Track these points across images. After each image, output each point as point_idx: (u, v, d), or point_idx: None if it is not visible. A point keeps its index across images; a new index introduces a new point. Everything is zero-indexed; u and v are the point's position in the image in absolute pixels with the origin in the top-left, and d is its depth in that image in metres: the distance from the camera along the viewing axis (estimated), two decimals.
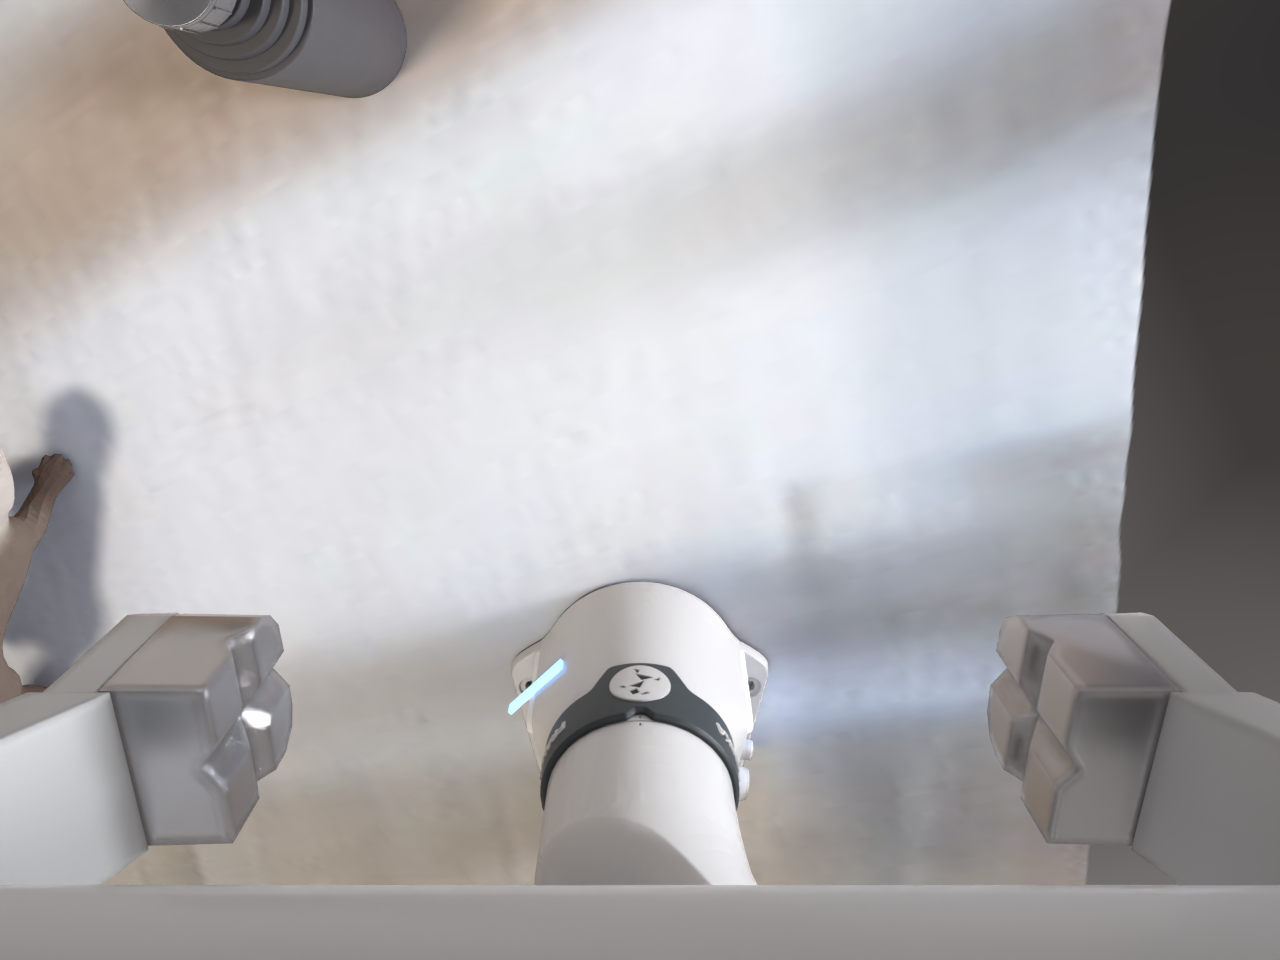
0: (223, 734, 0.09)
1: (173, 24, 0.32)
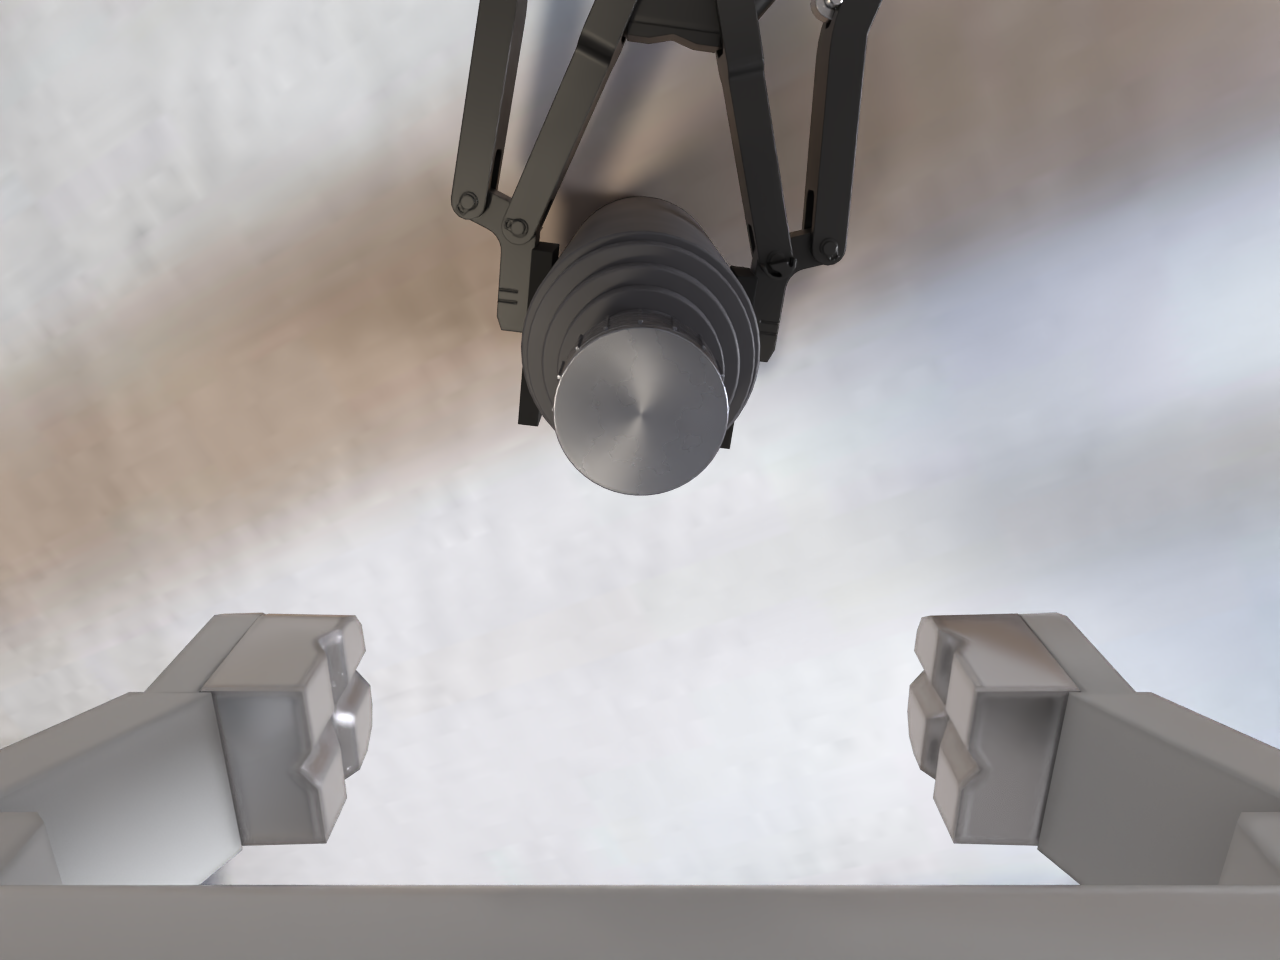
0: (319, 734, 0.09)
1: (638, 492, 0.20)
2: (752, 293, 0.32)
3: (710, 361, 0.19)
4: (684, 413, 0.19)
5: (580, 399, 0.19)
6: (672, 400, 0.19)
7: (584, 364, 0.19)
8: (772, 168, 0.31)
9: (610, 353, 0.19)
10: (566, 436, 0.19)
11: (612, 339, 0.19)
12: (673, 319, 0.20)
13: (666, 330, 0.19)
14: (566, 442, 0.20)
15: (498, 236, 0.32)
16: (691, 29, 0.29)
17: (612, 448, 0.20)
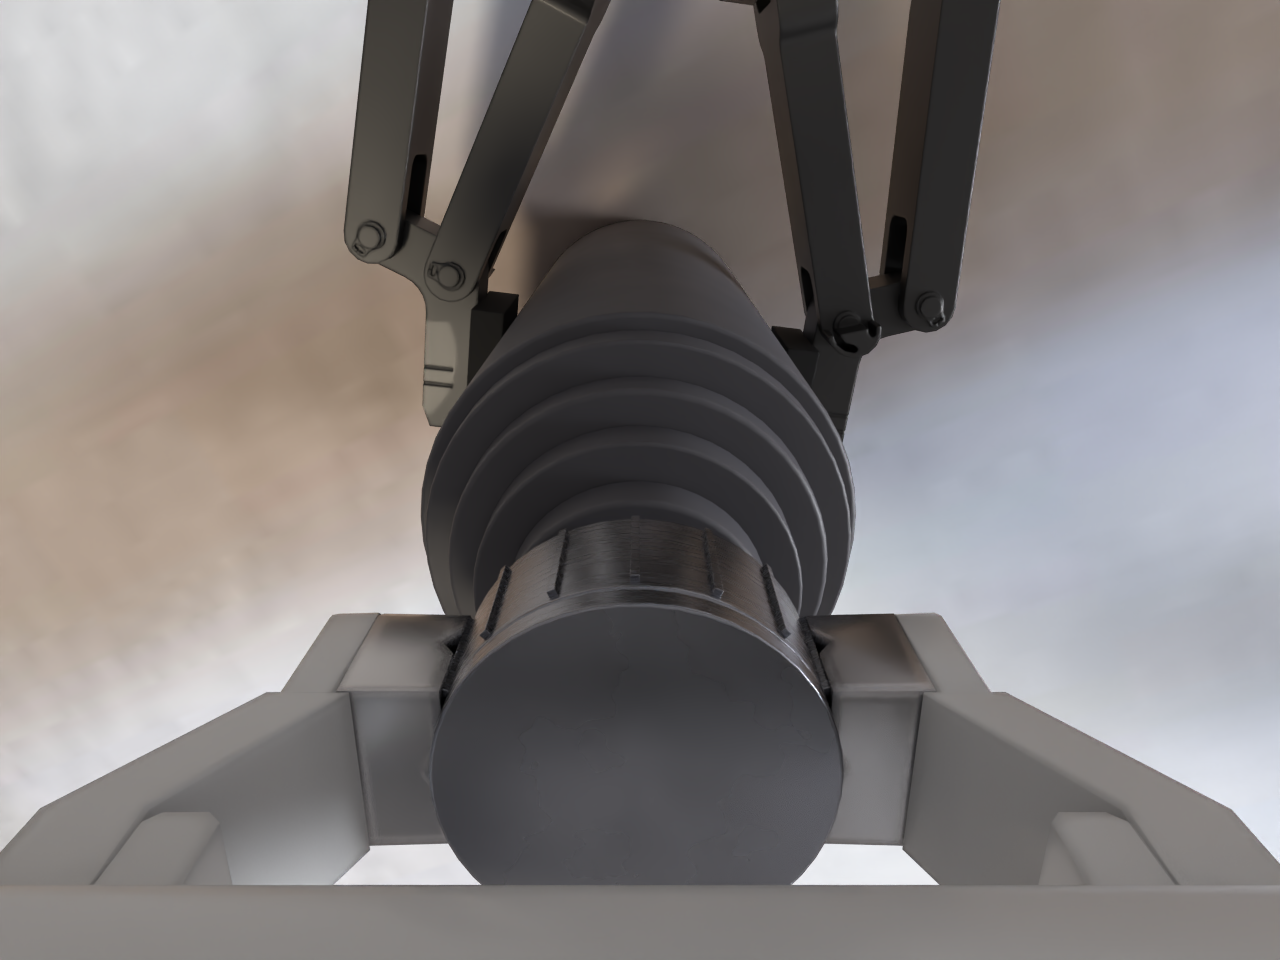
0: None
1: None
2: (809, 375, 0.21)
3: (805, 678, 0.08)
4: (739, 785, 0.08)
5: (492, 757, 0.08)
6: (712, 760, 0.08)
7: (499, 686, 0.08)
8: (845, 184, 0.20)
9: (562, 662, 0.08)
10: (463, 832, 0.08)
11: (566, 631, 0.08)
12: (710, 547, 0.09)
13: (699, 610, 0.08)
14: (464, 841, 0.08)
15: (421, 288, 0.21)
16: None
17: (571, 854, 0.08)
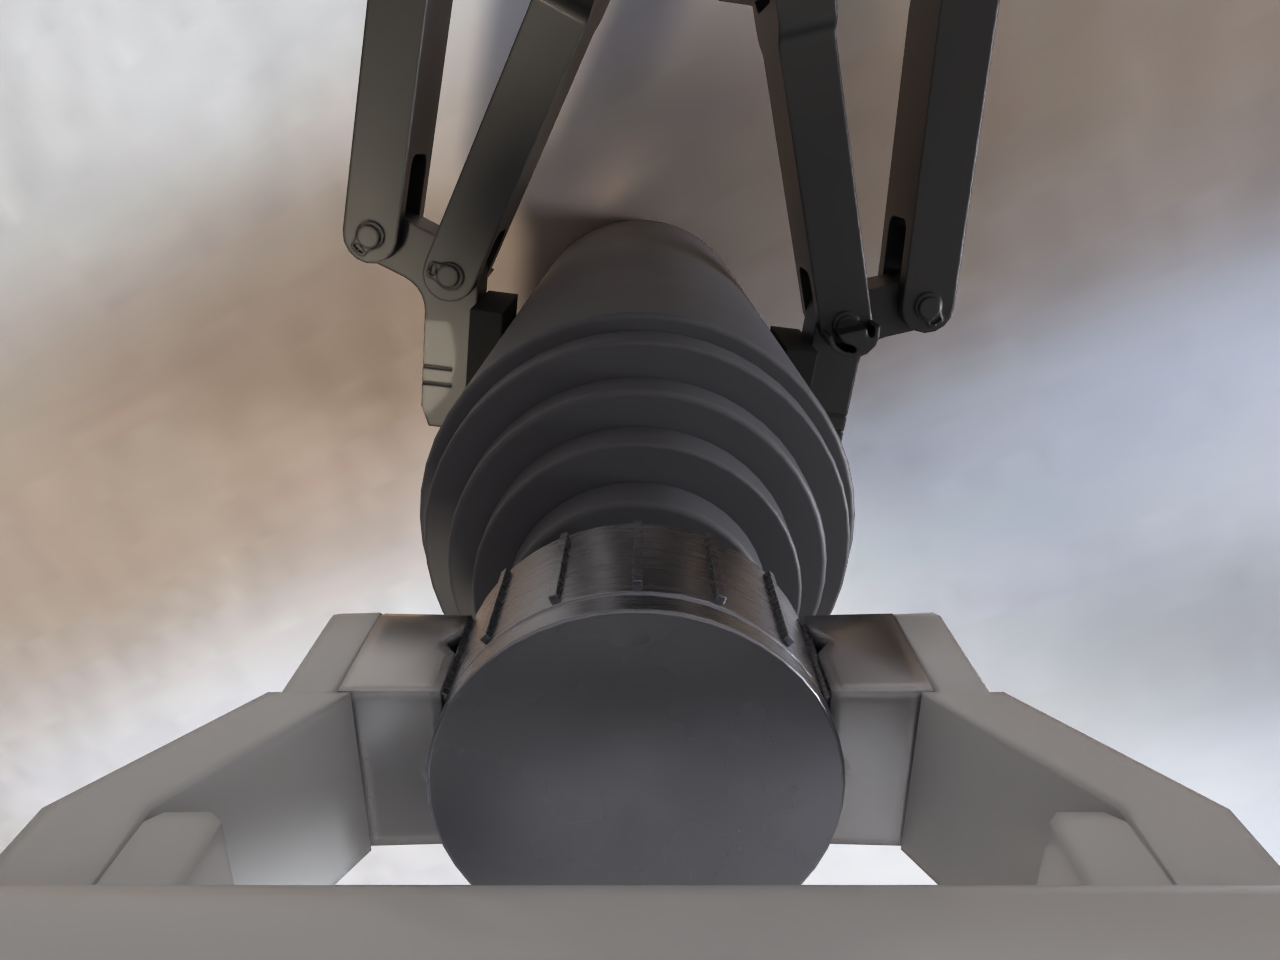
0: None
1: (811, 860, 0.08)
2: (808, 375, 0.21)
3: (577, 618, 0.07)
4: (676, 714, 0.08)
5: None
6: (633, 726, 0.08)
7: (476, 853, 0.08)
8: (844, 185, 0.20)
9: (472, 800, 0.08)
10: None
11: (444, 785, 0.08)
12: (496, 591, 0.09)
13: (467, 677, 0.08)
14: None
15: (420, 287, 0.21)
16: None
17: (685, 870, 0.08)
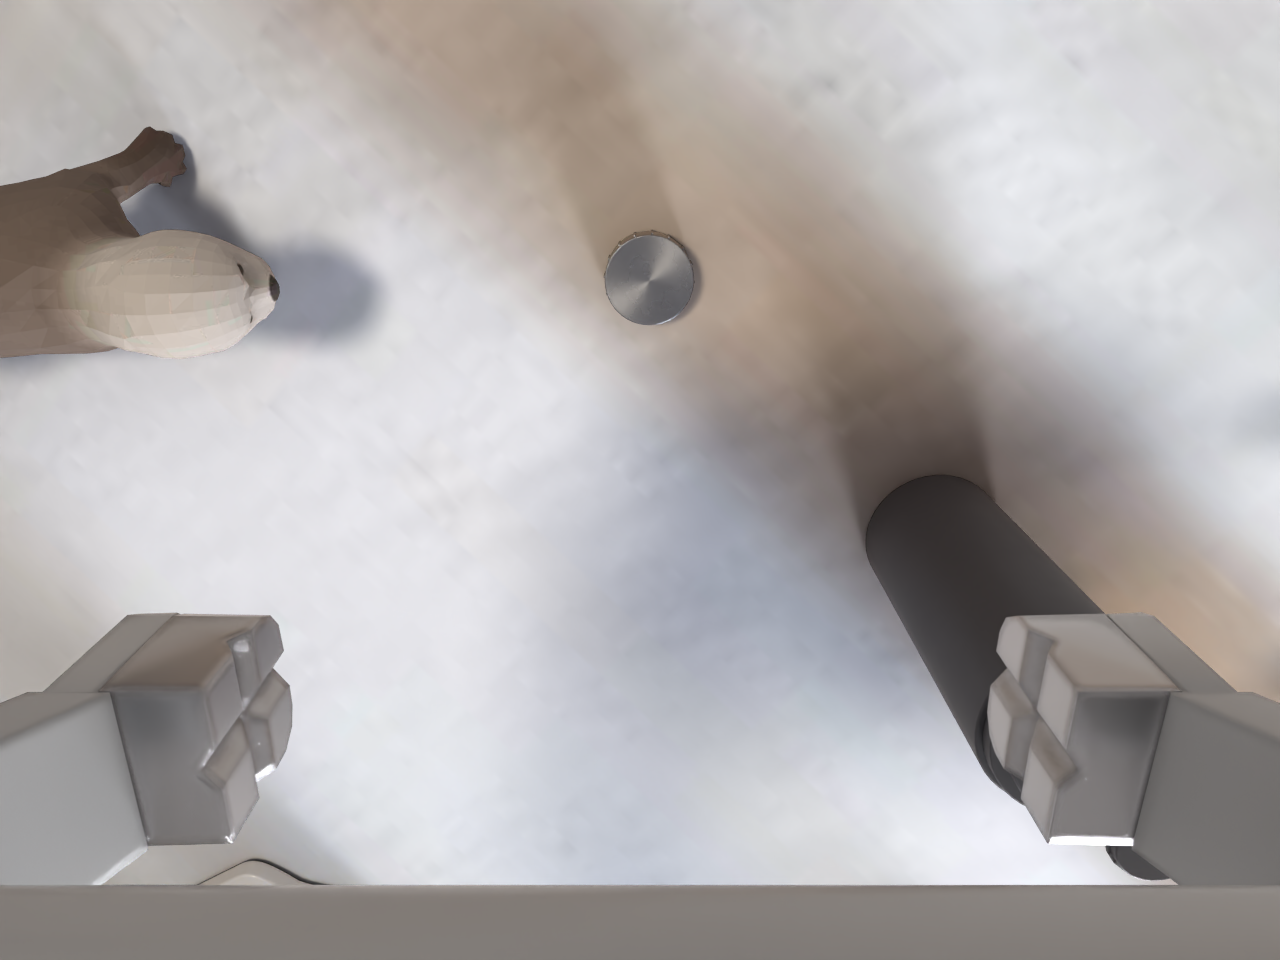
0: (223, 734, 0.09)
1: (629, 318, 0.39)
2: None
3: (692, 271, 0.38)
4: (669, 290, 0.38)
5: (625, 260, 0.38)
6: (666, 281, 0.38)
7: (635, 244, 0.38)
8: None
9: (650, 245, 0.38)
10: (610, 274, 0.38)
11: (654, 239, 0.37)
12: (682, 246, 0.39)
13: (679, 247, 0.38)
14: (608, 277, 0.38)
15: None
16: None
17: (628, 290, 0.38)
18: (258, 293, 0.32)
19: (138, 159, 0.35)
